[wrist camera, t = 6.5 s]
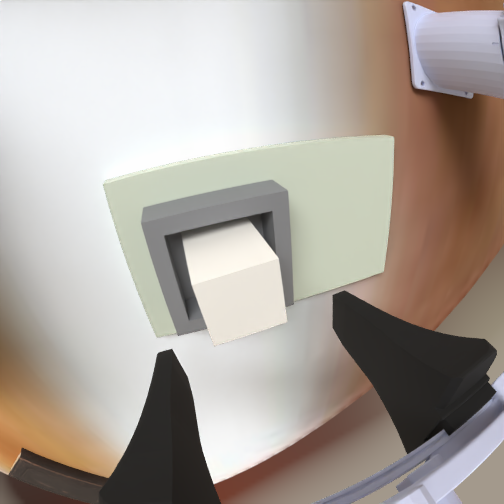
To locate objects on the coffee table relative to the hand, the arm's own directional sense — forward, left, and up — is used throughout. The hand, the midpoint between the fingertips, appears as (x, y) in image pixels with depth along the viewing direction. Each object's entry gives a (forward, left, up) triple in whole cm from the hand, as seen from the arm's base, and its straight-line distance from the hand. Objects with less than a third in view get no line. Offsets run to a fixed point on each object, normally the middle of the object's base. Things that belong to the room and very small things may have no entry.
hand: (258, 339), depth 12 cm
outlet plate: (-4, 0, -9) cm, 10 cm away
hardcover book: (+35, +38, -10) cm, 53 cm away
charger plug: (0, 0, -8) cm, 8 cm away
